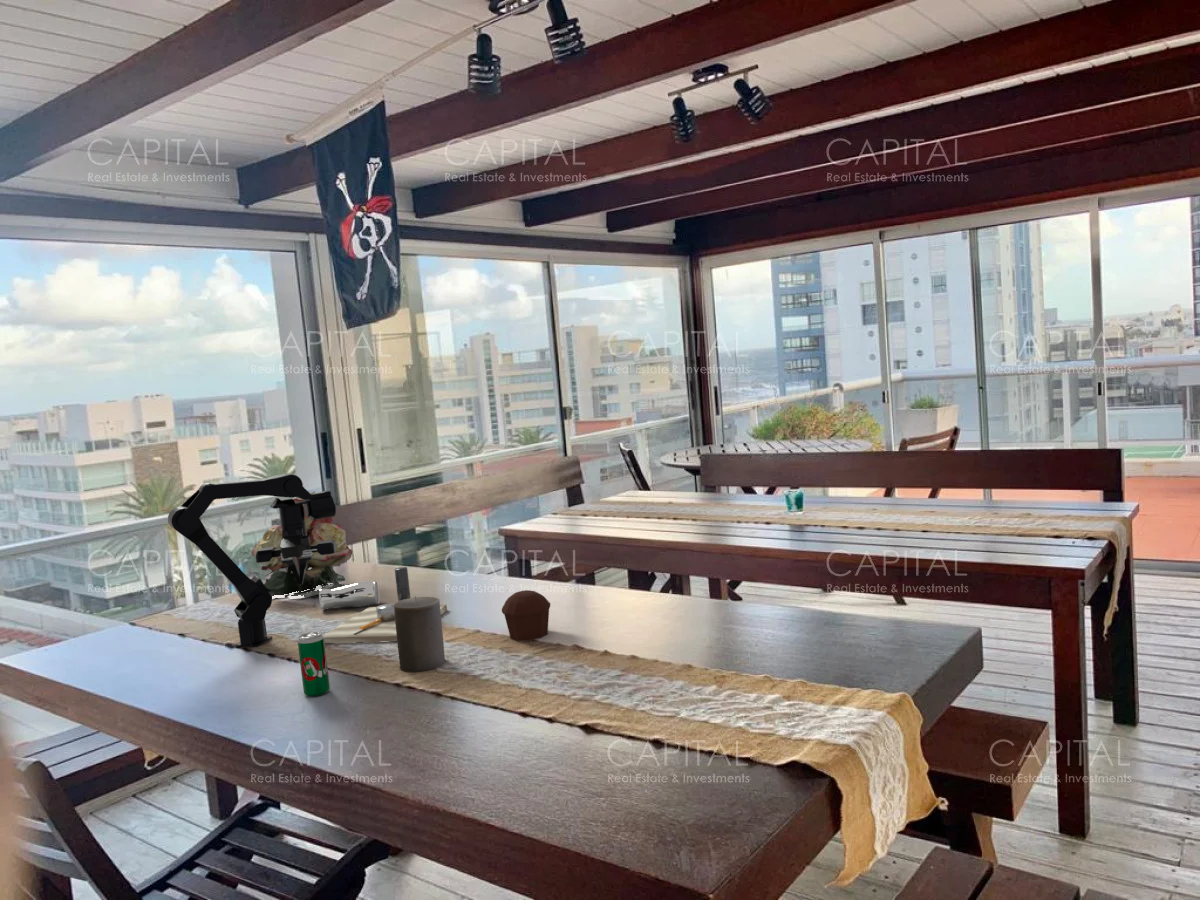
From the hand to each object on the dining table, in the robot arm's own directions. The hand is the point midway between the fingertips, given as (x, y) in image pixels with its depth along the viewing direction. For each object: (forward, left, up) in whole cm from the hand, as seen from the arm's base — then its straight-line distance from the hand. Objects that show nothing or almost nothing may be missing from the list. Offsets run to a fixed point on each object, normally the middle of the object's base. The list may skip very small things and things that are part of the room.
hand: (300, 584), depth 227 cm
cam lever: (+3, -21, -10) cm, 23 cm away
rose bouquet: (+43, +22, -12) cm, 49 cm away
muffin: (-8, -61, -12) cm, 63 cm away
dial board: (+2, -21, -12) cm, 24 cm away
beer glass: (+19, +6, -9) cm, 22 cm away
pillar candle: (-27, -43, -12) cm, 52 cm away
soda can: (-43, -27, -12) cm, 52 cm away
